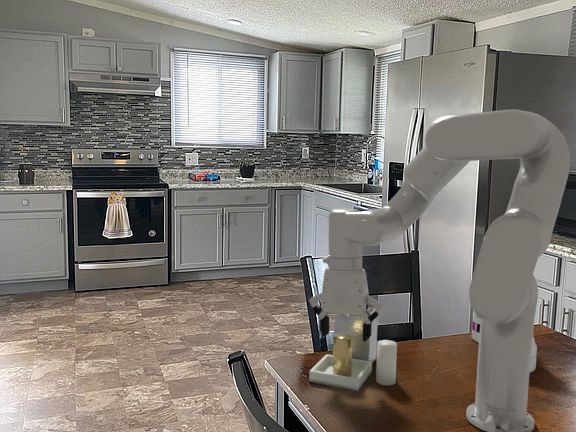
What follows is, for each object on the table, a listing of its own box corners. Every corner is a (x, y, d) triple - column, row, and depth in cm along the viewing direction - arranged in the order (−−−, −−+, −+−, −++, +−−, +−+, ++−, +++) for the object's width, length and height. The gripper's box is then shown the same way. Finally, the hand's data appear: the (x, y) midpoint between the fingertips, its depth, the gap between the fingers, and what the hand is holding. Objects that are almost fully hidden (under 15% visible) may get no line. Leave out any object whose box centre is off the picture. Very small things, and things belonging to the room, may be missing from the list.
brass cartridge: (348, 379, 131) (349, 341, 129) (330, 376, 132) (331, 338, 131) (353, 372, 135) (355, 335, 133) (335, 369, 136) (336, 332, 135)
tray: (357, 390, 126) (358, 379, 126) (309, 381, 131) (309, 370, 130) (371, 372, 137) (371, 362, 136) (326, 364, 141) (326, 354, 141)
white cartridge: (392, 386, 129) (394, 348, 127) (373, 383, 130) (375, 344, 129) (397, 379, 133) (399, 341, 132) (378, 376, 134) (380, 338, 133)
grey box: (368, 368, 139) (370, 314, 137) (333, 362, 142) (334, 309, 140) (376, 358, 145) (378, 306, 144) (342, 352, 149) (344, 302, 147)
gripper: (303, 264, 130) (304, 337, 132) (378, 269, 123) (378, 346, 125) (315, 258, 137) (316, 328, 139) (387, 262, 130) (386, 336, 132)
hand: (345, 337), depth 132 cm, fingers open, 9 cm apart
